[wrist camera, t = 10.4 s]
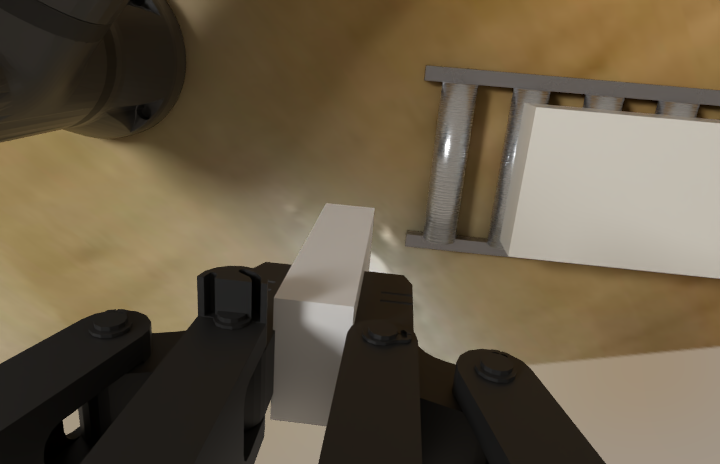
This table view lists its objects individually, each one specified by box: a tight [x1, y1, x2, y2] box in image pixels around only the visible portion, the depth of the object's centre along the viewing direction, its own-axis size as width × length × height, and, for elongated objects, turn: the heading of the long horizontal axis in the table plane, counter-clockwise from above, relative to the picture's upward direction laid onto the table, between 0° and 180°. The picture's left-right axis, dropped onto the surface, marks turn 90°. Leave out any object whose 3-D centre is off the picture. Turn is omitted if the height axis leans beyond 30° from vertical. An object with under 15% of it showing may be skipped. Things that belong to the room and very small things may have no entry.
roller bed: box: [405, 65, 720, 279], centre depth 45 cm, size 16×30×3 cm, turn 86°
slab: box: [500, 103, 720, 279], centre depth 42 cm, size 18×12×4 cm, turn 86°
